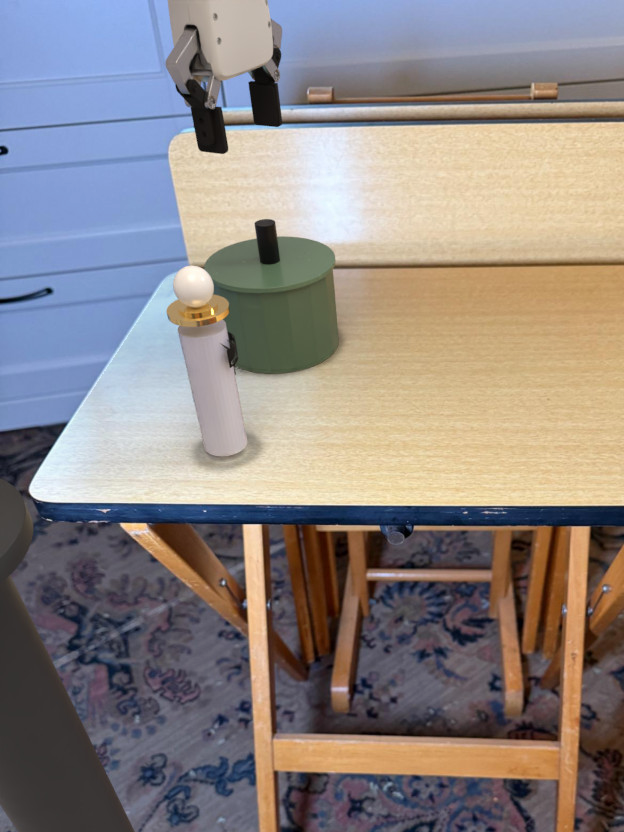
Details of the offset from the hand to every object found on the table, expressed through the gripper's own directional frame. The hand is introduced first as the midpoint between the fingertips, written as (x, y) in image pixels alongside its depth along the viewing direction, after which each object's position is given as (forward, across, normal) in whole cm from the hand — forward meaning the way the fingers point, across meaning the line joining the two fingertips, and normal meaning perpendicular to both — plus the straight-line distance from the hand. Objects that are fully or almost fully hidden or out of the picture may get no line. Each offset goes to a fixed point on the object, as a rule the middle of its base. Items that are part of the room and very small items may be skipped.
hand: (242, 138), depth 80 cm
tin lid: (+16, -6, -3) cm, 17 cm away
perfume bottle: (+26, +17, +4) cm, 32 cm away
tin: (+26, -6, -3) cm, 27 cm away
